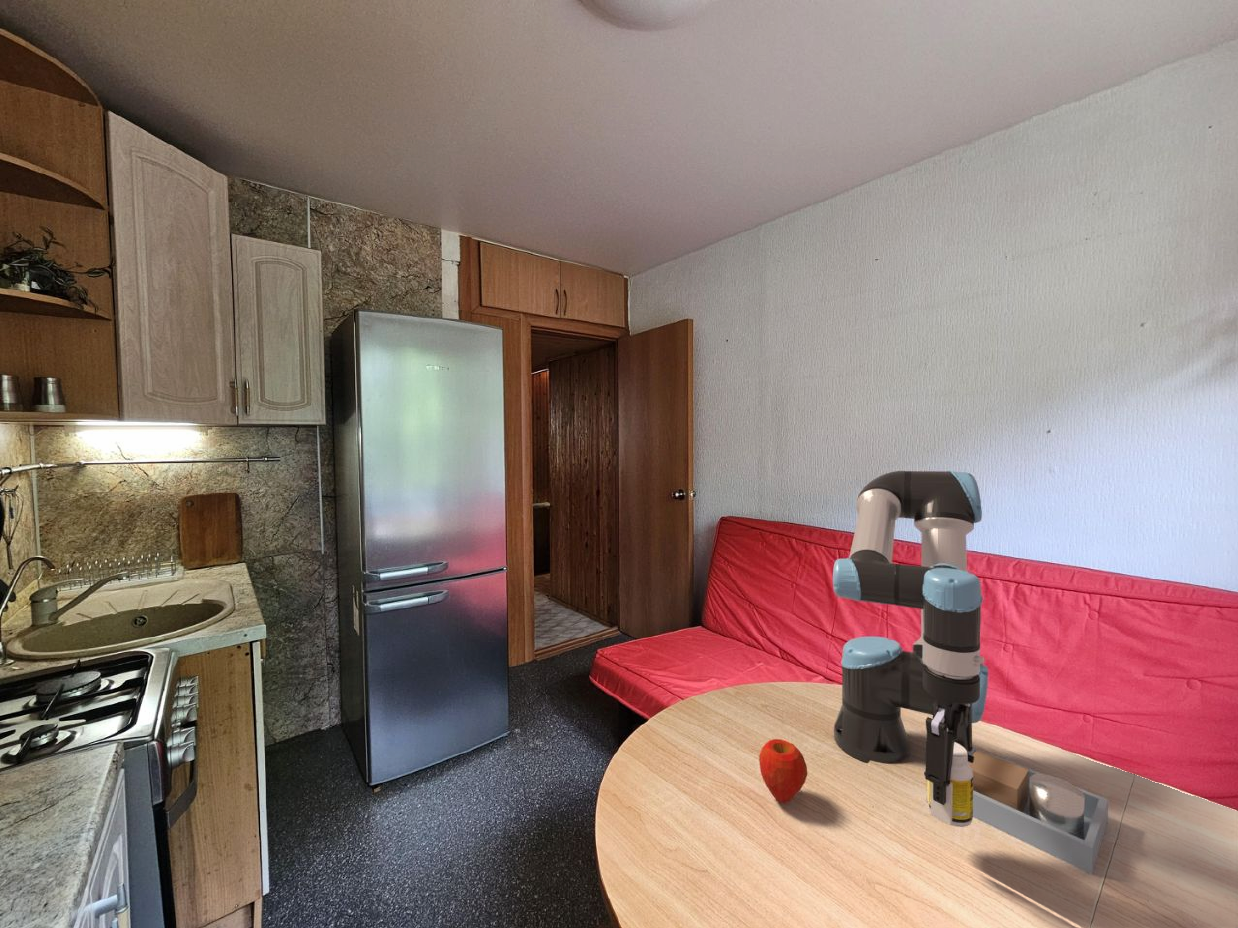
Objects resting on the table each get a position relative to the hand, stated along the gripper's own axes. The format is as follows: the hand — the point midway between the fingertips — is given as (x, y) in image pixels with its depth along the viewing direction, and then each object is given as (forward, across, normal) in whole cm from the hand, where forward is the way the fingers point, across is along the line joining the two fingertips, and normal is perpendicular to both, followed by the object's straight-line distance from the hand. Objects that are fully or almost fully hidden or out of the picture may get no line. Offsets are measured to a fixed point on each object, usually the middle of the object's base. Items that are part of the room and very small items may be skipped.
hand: (949, 807), depth 79 cm
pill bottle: (+1, 0, 0) cm, 1 cm away
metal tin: (+8, +20, -10) cm, 24 cm away
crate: (+9, +20, -5) cm, 23 cm away
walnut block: (+8, +20, -1) cm, 22 cm away
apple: (+9, -9, +25) cm, 28 cm away
